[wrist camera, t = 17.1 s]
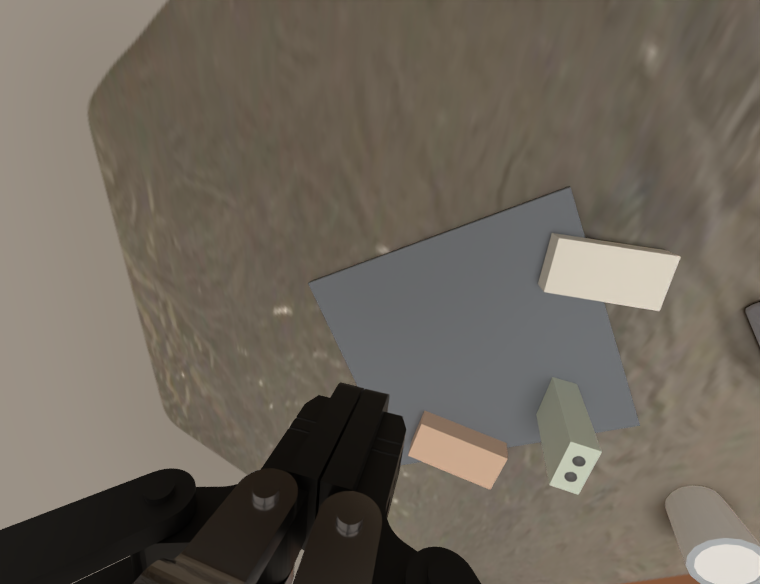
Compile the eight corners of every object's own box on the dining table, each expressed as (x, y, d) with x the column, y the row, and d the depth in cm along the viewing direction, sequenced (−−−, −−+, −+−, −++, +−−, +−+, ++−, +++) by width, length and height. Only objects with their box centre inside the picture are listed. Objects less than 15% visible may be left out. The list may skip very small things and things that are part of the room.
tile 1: (543, 293, 37) (660, 312, 36) (559, 238, 35) (682, 256, 34) (537, 284, 39) (647, 302, 38) (551, 232, 38) (666, 250, 37)
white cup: (744, 516, 44) (789, 580, 37) (679, 536, 47) (710, 600, 40) (709, 471, 43) (748, 529, 37) (645, 495, 46) (671, 552, 39)
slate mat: (310, 281, 46) (308, 283, 46) (569, 186, 37) (570, 187, 36) (397, 462, 52) (396, 465, 52) (638, 421, 43) (639, 425, 42)
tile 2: (535, 414, 45) (548, 486, 36) (552, 376, 43) (571, 442, 34) (559, 422, 44) (578, 496, 35) (577, 384, 42) (602, 452, 33)
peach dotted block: (407, 456, 48) (490, 490, 47) (421, 423, 46) (508, 459, 45) (411, 441, 50) (490, 474, 49) (424, 410, 48) (507, 443, 47)
